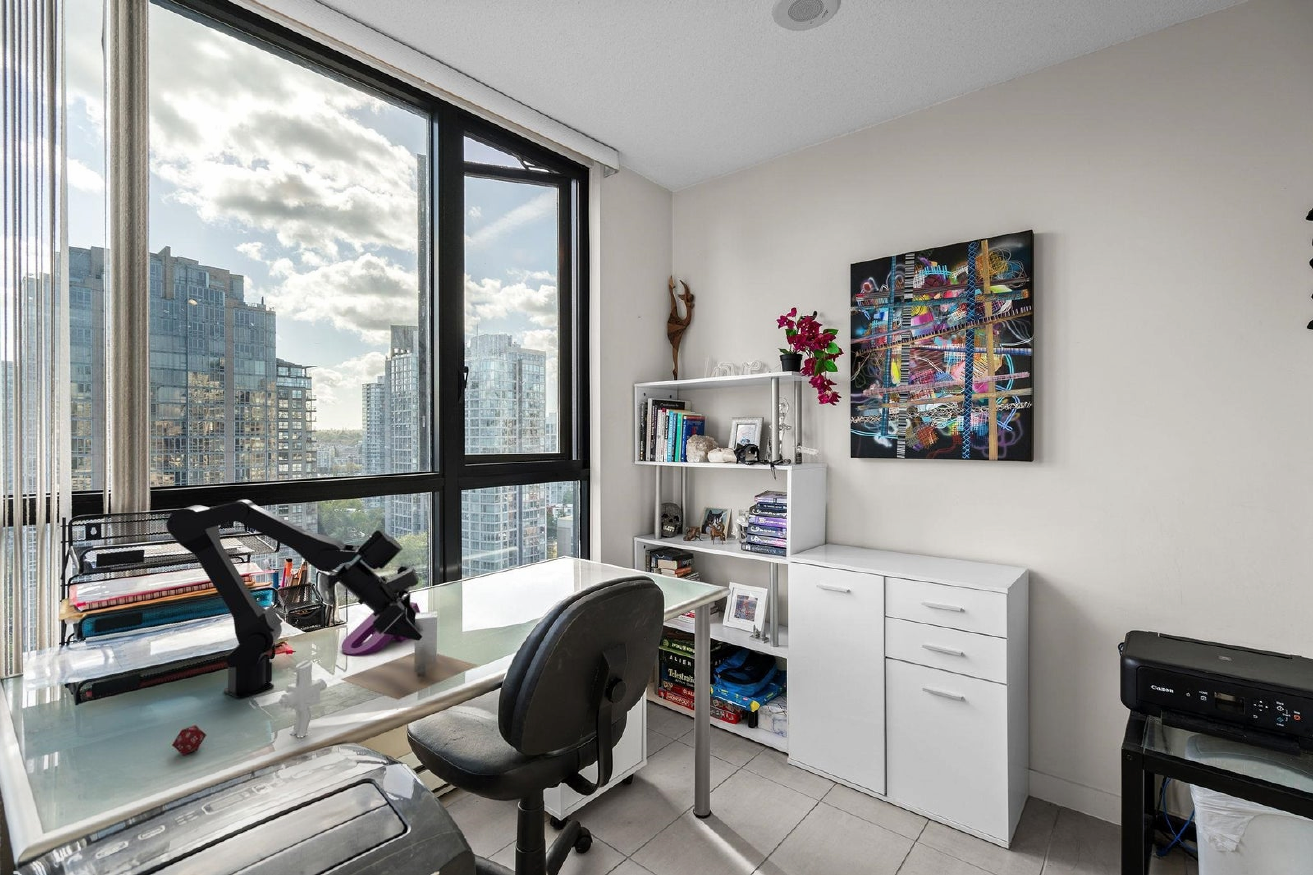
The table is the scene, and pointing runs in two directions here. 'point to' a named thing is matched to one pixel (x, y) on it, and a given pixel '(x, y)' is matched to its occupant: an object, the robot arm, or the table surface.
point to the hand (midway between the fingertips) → (421, 631)
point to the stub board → (407, 675)
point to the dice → (189, 740)
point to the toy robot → (302, 696)
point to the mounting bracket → (374, 642)
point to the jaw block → (426, 640)
